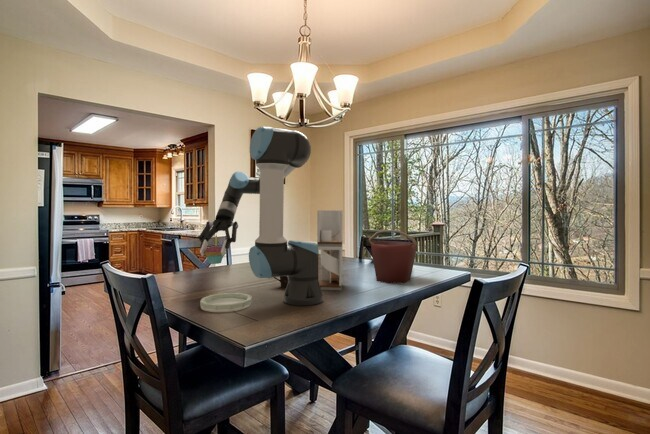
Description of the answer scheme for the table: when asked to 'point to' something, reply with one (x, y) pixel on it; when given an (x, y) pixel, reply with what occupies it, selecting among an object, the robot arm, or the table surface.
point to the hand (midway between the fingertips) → (211, 254)
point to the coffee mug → (283, 281)
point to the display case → (330, 247)
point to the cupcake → (214, 253)
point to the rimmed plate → (225, 302)
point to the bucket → (393, 259)
